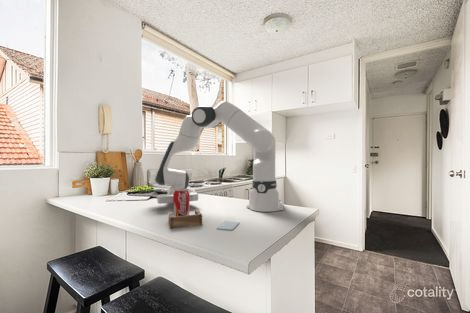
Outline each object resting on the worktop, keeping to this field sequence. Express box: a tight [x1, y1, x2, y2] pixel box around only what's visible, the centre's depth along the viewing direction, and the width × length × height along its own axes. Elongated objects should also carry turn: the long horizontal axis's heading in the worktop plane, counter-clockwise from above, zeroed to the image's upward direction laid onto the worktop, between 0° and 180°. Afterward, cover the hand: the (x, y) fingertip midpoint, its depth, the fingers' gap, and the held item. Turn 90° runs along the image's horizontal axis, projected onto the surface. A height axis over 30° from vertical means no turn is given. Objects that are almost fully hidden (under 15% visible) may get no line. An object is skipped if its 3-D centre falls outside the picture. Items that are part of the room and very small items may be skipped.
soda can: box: [172, 188, 191, 217], centre depth 100 cm, size 7×7×12 cm
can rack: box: [168, 208, 203, 229], centre depth 89 cm, size 9×12×4 cm
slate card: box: [216, 220, 240, 232], centre depth 85 cm, size 9×6×1 cm, turn 163°
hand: (179, 200), depth 108 cm, fingers closed
